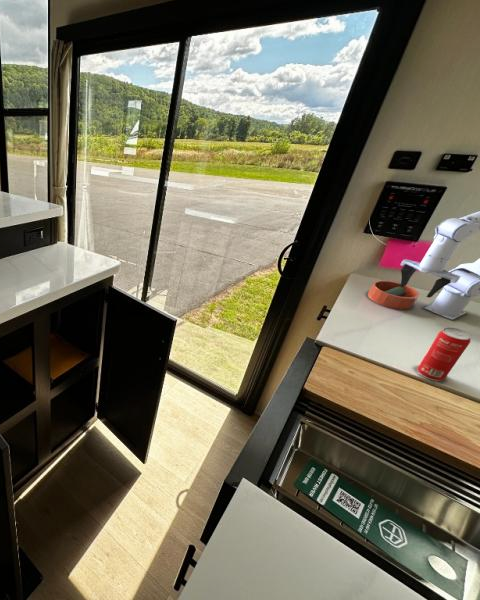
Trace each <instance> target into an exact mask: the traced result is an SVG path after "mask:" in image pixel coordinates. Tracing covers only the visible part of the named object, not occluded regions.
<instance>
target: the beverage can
mask: <svg viewBox="0 0 480 600" xmlns="http://www.w3.org/2000/svg"><path fill="white" fill-rule="evenodd" d="M471 338H472V336H471V335H470V333H468V332H466V331H465V330H462V329H458V328H455V327H454V328H453V327H445V328H444V329H442V330H440V331H439V332H438V334H437V335H436V337H435V339H434V340H433V341H432V343H431V345H430V347H429V348H428V350H427V351H426V353H425V355H424V357H423V358H422V360H421V361H420V363H419V364H418V366H417V368H416V370H417V372H418V374H419V375H421V376H422V377H424V378H426V379H428V380H432V381H438V382H439V381H440V382H441V381H444V380H445V379H446V378H447V377H448V375H449V373H450V372H452V369H453V368H454V366H455V365H456V363H457V362H458V361H459V359H460V358H461V356H462V355H463V353H464V352H465V351H466V349H467V348H468V346H469V345H470V343H471Z"/></svg>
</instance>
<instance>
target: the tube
mask: <svg viewBox="0 0 480 600" xmlns="http://www.w3.org/2000/svg"><path fill="white" fill-rule="evenodd" d="M385 292H386V293H388V294H391V295H395V296H399V297H402V296H404V295H405V294H406V290H405V289H404V288H402V287H395V288H392V289H390V290H387V291H385Z"/></svg>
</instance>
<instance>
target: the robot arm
mask: <svg viewBox="0 0 480 600" xmlns="http://www.w3.org/2000/svg"><path fill="white" fill-rule="evenodd" d="M434 232H435V235H434V236H433V242H432V244H430V247H429V248H428V250H427V252H425V255H424V256H423V258H422V260H421V262H419V261H414V260H410V259H406V258H405V259H403V260H402V261H401V263H400V266H402V267H401V268H400V273H401V281H400V283H401V285H400V287H404V286H406V285H408V283H409V281H410V279H411V278H412V276H413V275H414V274H415V272H416V271H419V272H421V273H424V274H428V275H431V276H434V277H437V278H438V279H436V280H435V282H434V284H433V286H432V288H431V289H430V291H429V292H428V293H427V295H426V298H428V299H430V298H431V297H433V296H434V295H435V294H436V293H437V292H439V291H440V290H441V291H440V292H439V294H438V295H437V297H436V298H435V300H434V301H433V302H432V304H430V305H428V306H425V307H424V310H426V311H429V312H431V313H434V314H436V315H439V316H441V317H444V318H446V319H448V320H452V321H453V320H455V319H457V318H460V317H461V316H463V315H465V314H467V311H465V308H466V307H467V306H468V305H469V303H470V302H471V301H472V299H473V298H474V297H477V296H480V258H478V259H477V260H476V261H473V262H470V263H461V264H459V265H458V266H457V267H455V268H453V269H450V270H449V271H448V270H446V269H445V268H446V266H447V265H448V263H449V262H450V260H451V259H452V257H453V255H454V254H455V253H456V251H457V250H458V248H459V246H460V245H461V244H462V242H464V241H467V240H469V239H471V238H472V237H473V236H474V235H476V234H478V233H479V232H480V210H479V211H476V212H472V213H470V214H467V215H465V216H462V217H459V218H457V217H456V218H455V217H451V218H447V219H444V220H442V221H441V222H440V223H439V224H438V225H436V227H435V228H434Z"/></svg>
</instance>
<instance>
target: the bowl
mask: <svg viewBox="0 0 480 600" xmlns="http://www.w3.org/2000/svg"><path fill="white" fill-rule="evenodd" d="M400 285H401V282H397V281H392V280H384V279H383V280H377V281H374V282H373V283H372V285H371V287H370V289H369V290H368V293H367V297H368V298H369V300H371V301H372V302H373V303H376V304H378V305H380V306H383V307H386V308H390V309H395V310H409V309H412V307H413V306H414V304H415V303H416V301H417V300H418V299H419V297H420V293H419V291H417V290H416V289H415V288H413V287H411V286H409V285H408V284H406V286H404V287H402V288H404V289H405V290H406V294H405V295H404V296H402V297H399V296H395V295H391V294H388V293H386V292H385V291H387V290H390V289H392V288H395V287H400Z"/></svg>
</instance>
